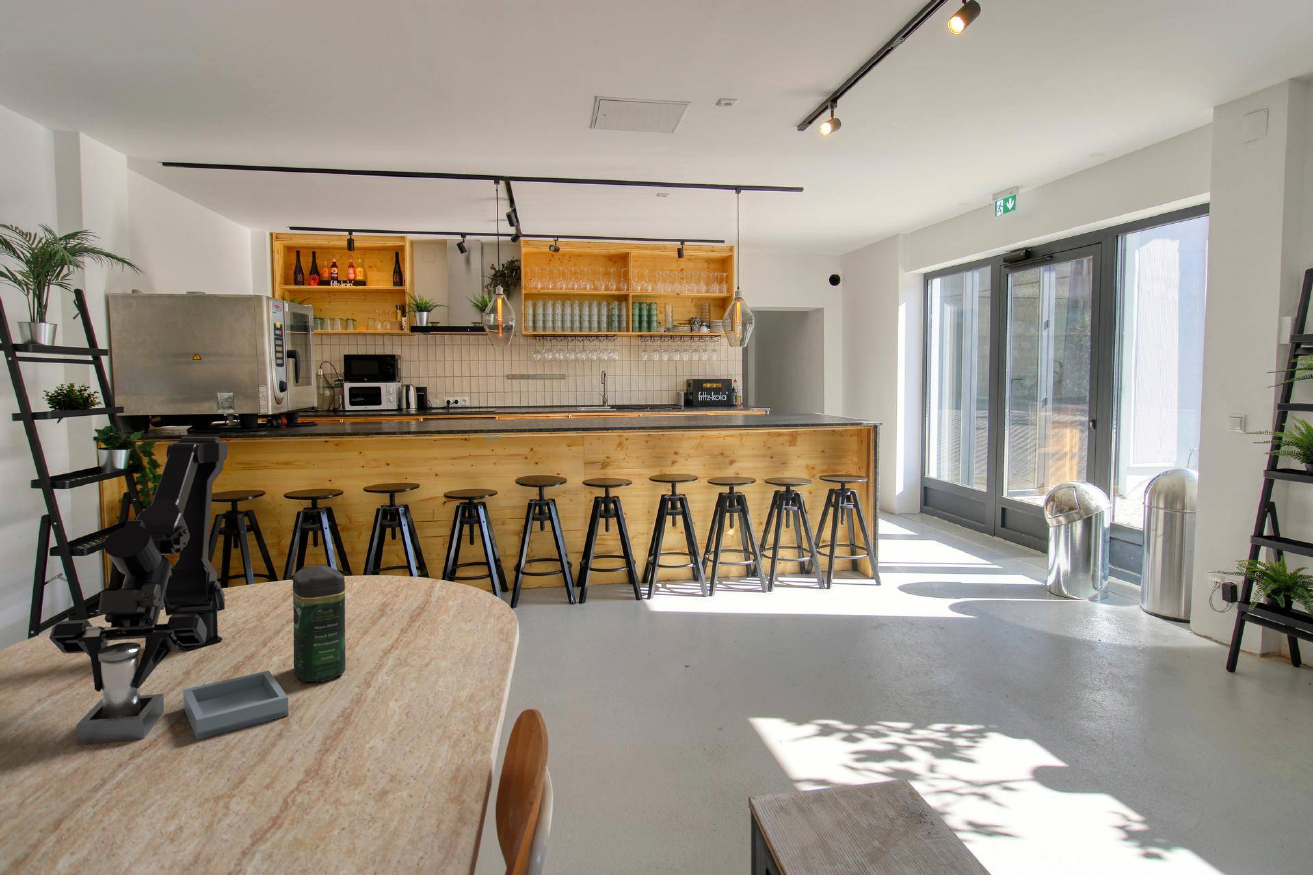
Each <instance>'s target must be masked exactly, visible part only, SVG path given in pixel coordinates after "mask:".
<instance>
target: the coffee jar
mask: <svg viewBox="0 0 1313 875" xmlns="http://www.w3.org/2000/svg"><path fill="white" fill-rule="evenodd" d="M292 604H293V606H292V607H293V610H292V611H293V670H294V673H295V675H296V676H297V677H298V679H300V681H302V682H318V681H321V682H324V681H323V680H327V681H329V680H328V679H330V680H332V679H334V678H337V677H338V675H339V676H341V675H343V674H344V672H345V671H346V665H347V664H346V663H347V661H346V658H347V657H346V582H345V576H344V575H343V573H342V572H340V571H339V570H338V569H336V568H333V567H331V566H328V565H327V564H317V565H308V566H302V567H301V569H299V570H298V571H296V572H295V573H294V575H293V578H292ZM342 673H343V674H342ZM331 678H332V679H331Z"/></svg>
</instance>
